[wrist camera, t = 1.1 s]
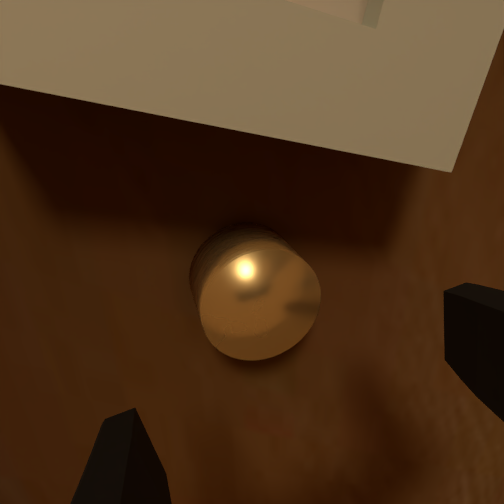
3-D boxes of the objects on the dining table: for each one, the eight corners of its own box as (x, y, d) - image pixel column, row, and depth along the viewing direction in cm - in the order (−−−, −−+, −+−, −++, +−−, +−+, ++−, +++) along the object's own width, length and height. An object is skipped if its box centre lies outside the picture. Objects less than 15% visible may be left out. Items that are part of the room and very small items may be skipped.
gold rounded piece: (302, 228, 18) (334, 255, 15) (279, 321, 19) (304, 360, 16) (198, 216, 16) (213, 243, 13) (181, 317, 18) (191, 360, 15)
